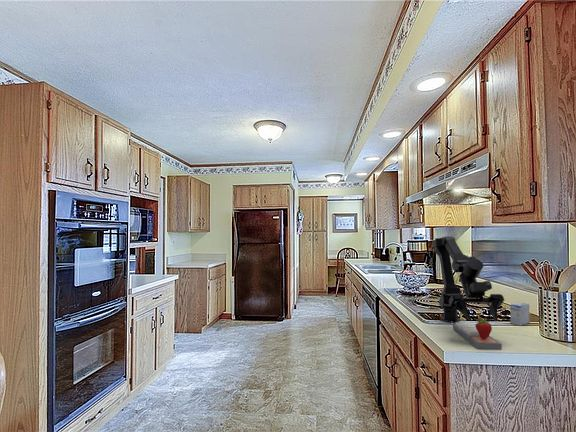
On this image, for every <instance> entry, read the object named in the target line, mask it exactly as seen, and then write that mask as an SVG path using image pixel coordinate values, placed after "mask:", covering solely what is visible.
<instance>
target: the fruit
mask: <svg viewBox="0 0 576 432" xmlns="http://www.w3.org/2000/svg"><path fill="white" fill-rule="evenodd" d="M490 322H491V320H487V318H484V319H483V318H482V317H481V318H480V319H478V320H477V322H476V323H475V325H476V329H477V331H478V332H479V335H480V338H481V339H487V338H488V336H490V334H491V332H492V330H493V327H492V324H491V323H490Z"/></svg>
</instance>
